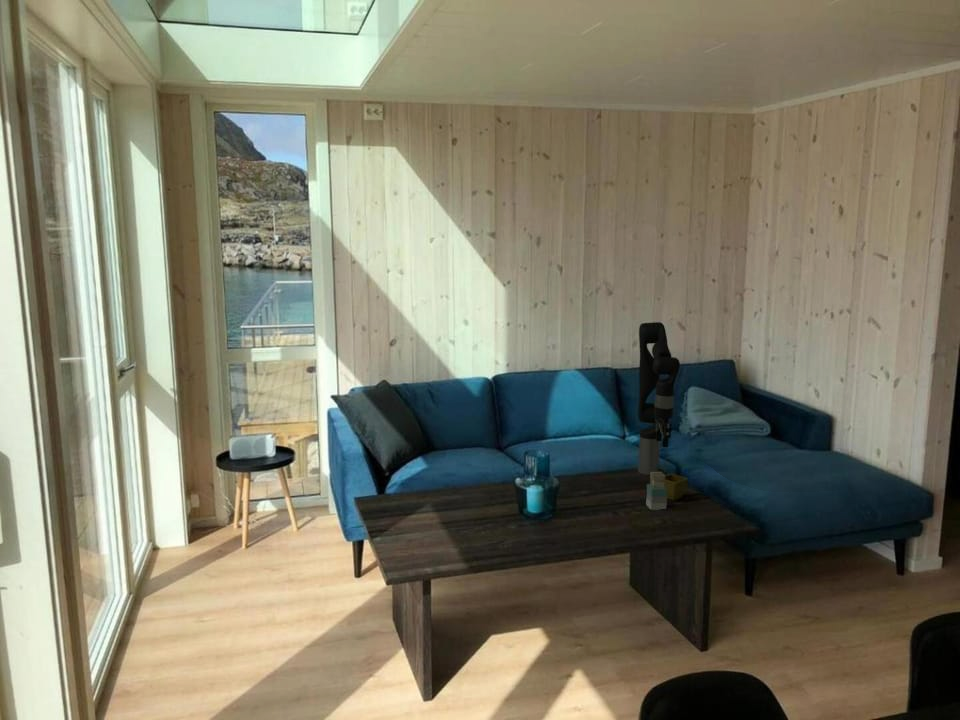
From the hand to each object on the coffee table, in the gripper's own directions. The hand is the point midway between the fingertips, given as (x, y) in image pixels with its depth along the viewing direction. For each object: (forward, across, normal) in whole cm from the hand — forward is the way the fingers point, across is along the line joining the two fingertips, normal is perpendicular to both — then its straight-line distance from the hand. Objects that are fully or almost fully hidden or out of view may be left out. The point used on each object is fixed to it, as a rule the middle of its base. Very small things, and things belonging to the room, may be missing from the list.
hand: (661, 443), depth 315 cm
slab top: (+20, +3, -2) cm, 21 cm away
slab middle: (+23, +3, -2) cm, 24 cm away
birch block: (+17, +2, -2) cm, 18 cm away
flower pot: (+27, -8, +8) cm, 29 cm away
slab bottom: (+26, +3, -2) cm, 27 cm away
